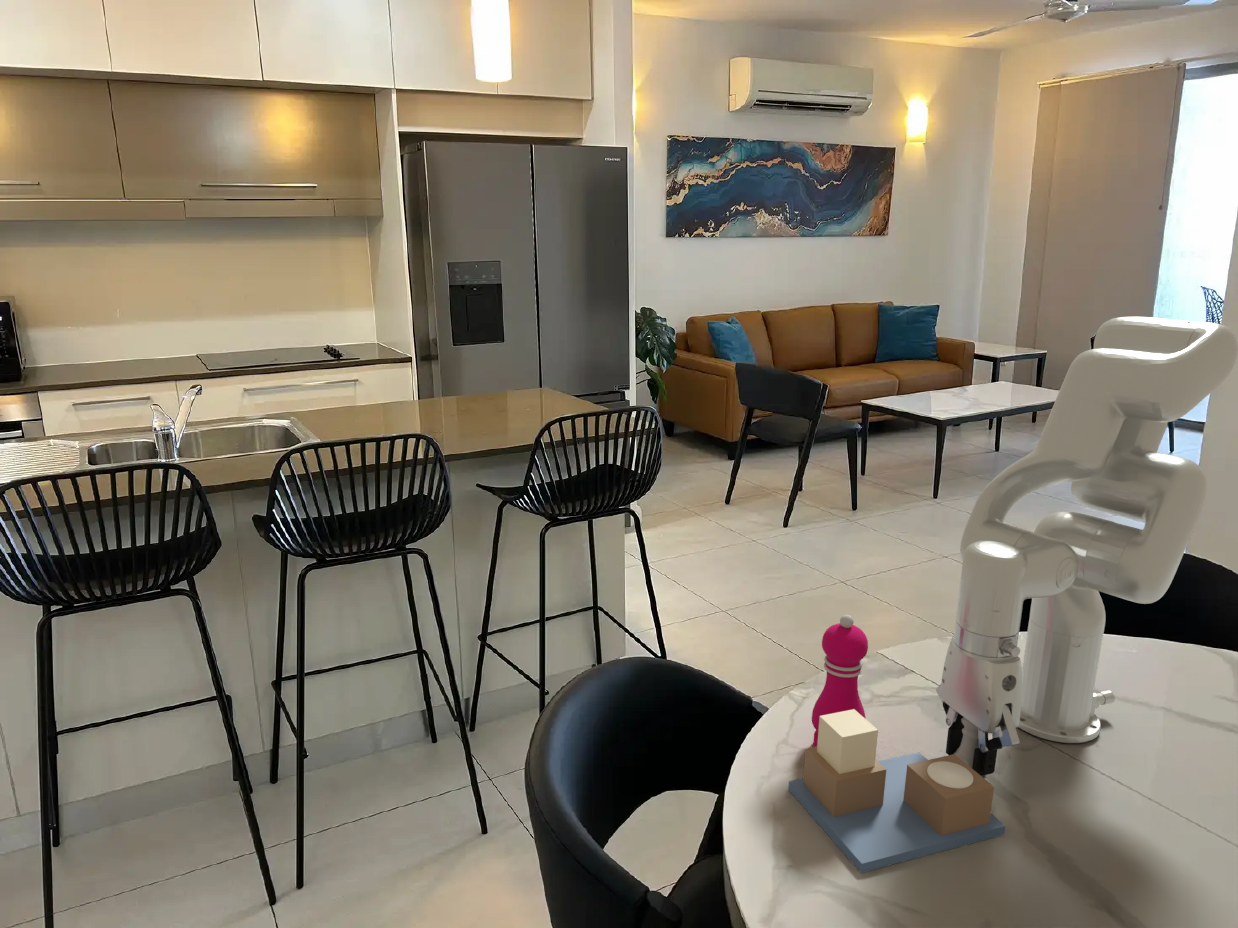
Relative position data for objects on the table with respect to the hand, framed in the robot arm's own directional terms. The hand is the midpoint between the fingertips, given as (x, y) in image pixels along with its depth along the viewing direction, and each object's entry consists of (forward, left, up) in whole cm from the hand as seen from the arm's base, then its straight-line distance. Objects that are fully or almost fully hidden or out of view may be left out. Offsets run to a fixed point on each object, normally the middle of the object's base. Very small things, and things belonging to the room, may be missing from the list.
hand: (969, 761), depth 117 cm
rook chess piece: (0, 0, -1) cm, 1 cm away
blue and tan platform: (+15, +4, -1) cm, 16 cm away
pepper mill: (+14, -10, -1) cm, 17 cm away
